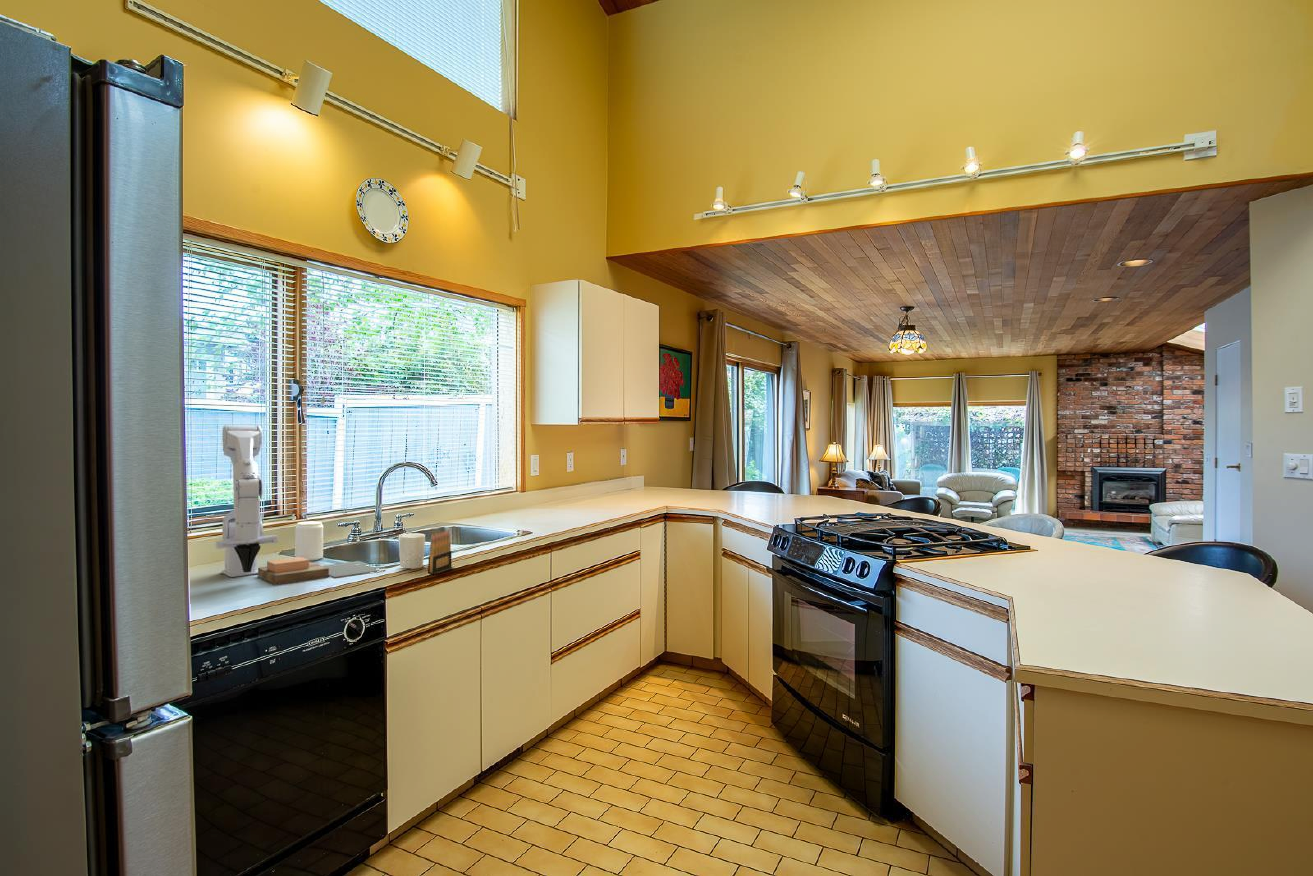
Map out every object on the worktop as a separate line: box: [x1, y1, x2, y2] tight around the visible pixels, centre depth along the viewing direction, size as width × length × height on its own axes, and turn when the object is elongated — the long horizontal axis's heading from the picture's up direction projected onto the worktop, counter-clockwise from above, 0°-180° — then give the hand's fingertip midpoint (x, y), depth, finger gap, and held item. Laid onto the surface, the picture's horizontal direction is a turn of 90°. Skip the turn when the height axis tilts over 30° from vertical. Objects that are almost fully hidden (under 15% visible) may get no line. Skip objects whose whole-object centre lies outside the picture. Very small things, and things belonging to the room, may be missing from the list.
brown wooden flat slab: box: [257, 561, 330, 586], centre depth 190 cm, size 14×14×2 cm
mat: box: [323, 560, 380, 579], centre depth 200 cm, size 18×15×1 cm
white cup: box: [398, 532, 426, 570], centre depth 206 cm, size 8×8×10 cm
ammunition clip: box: [427, 529, 453, 575], centre depth 203 cm, size 11×2×12 cm, turn 168°
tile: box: [266, 557, 309, 573], centre depth 189 cm, size 6×9×2 cm, turn 139°
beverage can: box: [294, 520, 324, 562], centre depth 215 cm, size 8×8×12 cm
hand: (246, 571), depth 181 cm, fingers closed
